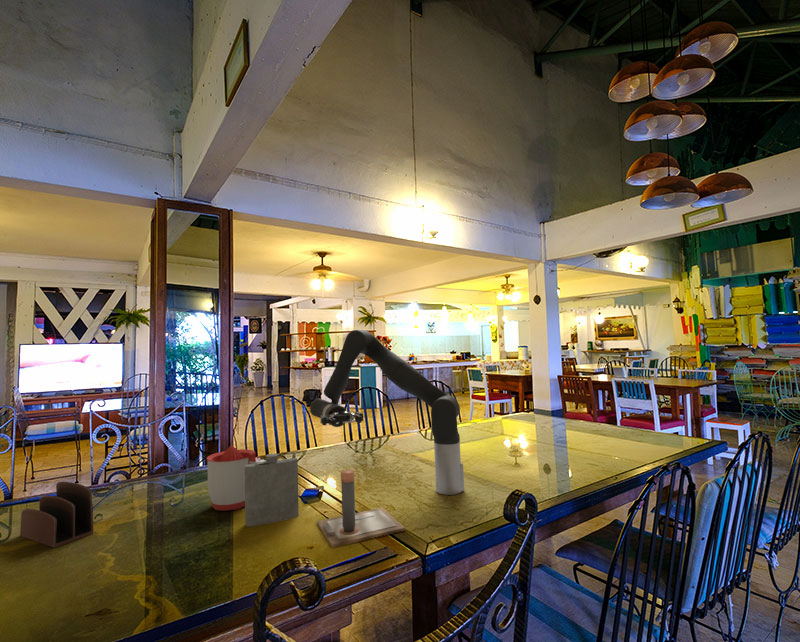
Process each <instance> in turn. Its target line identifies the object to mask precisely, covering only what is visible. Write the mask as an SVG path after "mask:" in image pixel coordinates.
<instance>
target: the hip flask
mask: <svg viewBox="0 0 800 642" xmlns="http://www.w3.org/2000/svg"><path fill="white" fill-rule="evenodd" d="M278 458H279V454H278V453H268V454H265V459H266V461H264V462H258V463H255V464H248V465H245V506H244V521H245V523H244V525H245V527H257V526H262V525H263V526H264V525H268V524H269V525H270V524H273V523H277V522H282V521H286V520H291V519H293V518H297V517H299V515H300V514H299V512H300V511H299V472H298V471H299V467H298V466H299V465H298V462H299V461H298V458H297V457H291V458H286V459H284V458H283V459H284V460H279V461H277V460H278Z"/></svg>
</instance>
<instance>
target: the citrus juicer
mask: <svg viewBox="0 0 800 642" xmlns="http://www.w3.org/2000/svg"><path fill="white" fill-rule="evenodd" d="M256 455H257V454H256V451H255V450H253V449H247V448H245V449H243V448H242V449H237V447H235V446H233V445H229V447H228V448H227V449H226V450H224V451H219V452H215V453H212V454H210V455H208V456H207V457H206V461H207V492H208V494H209V495H208V496H209V499H210V503H211V505H212V507H213V509H214V510H216V511H223V512H224V511H232V510H240V509H242V508H245V465H248V464H255V463H256V458H257V457H256Z"/></svg>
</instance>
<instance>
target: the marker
mask: <svg viewBox="0 0 800 642" xmlns="http://www.w3.org/2000/svg"><path fill="white" fill-rule="evenodd" d="M340 481H341V485H340V486H341V514H342V515H341V516H342V522H343V528H344V532H353V531H354V530H355V513H356V500H355V499H356V497H355V496H356V493H355V470H352V469H344V470H342V471H340Z"/></svg>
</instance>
